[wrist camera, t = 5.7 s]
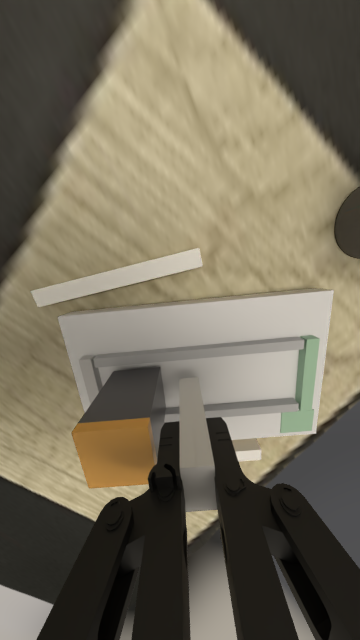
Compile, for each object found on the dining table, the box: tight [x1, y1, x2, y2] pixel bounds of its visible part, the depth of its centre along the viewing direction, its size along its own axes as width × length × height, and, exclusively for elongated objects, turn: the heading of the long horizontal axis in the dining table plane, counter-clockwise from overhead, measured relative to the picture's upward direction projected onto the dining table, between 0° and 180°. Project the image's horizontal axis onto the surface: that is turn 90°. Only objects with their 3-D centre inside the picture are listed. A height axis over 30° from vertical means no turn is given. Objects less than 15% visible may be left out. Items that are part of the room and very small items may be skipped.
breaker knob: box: [72, 367, 166, 488], centre depth 12 cm, size 4×4×6 cm
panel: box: [58, 288, 334, 440], centre depth 16 cm, size 22×14×3 cm, turn 96°
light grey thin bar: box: [31, 248, 203, 307], centre depth 15 cm, size 14×1×1 cm, turn 104°
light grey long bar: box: [232, 438, 261, 461], centre depth 20 cm, size 16×1×1 cm, turn 96°
